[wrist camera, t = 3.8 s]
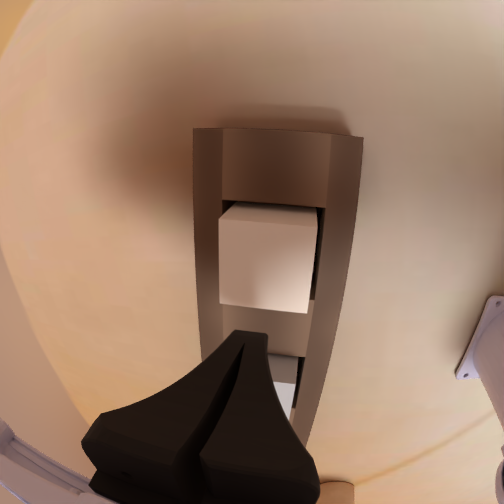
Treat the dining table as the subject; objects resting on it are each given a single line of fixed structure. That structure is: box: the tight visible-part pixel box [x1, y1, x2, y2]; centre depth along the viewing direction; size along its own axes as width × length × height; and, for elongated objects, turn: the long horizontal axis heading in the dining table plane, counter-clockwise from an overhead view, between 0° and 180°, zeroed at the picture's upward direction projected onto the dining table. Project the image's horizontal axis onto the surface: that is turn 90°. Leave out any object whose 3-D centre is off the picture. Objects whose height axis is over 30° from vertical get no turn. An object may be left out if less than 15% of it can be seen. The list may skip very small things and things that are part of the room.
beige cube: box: [219, 202, 318, 314], centre depth 15 cm, size 4×4×4 cm
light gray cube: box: [268, 353, 298, 420], centre depth 19 cm, size 4×4×4 cm
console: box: [193, 128, 364, 447], centre depth 21 cm, size 8×30×4 cm, turn 178°
